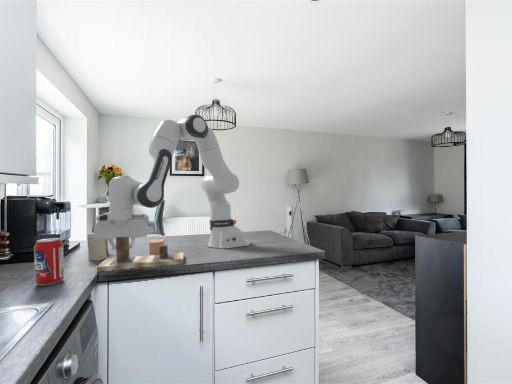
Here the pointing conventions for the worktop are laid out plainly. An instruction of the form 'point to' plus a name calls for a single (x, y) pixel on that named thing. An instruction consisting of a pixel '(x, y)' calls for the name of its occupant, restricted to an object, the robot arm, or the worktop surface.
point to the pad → (122, 262)
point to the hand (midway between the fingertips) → (122, 248)
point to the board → (145, 261)
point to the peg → (122, 249)
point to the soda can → (48, 261)
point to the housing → (155, 246)
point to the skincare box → (96, 248)
